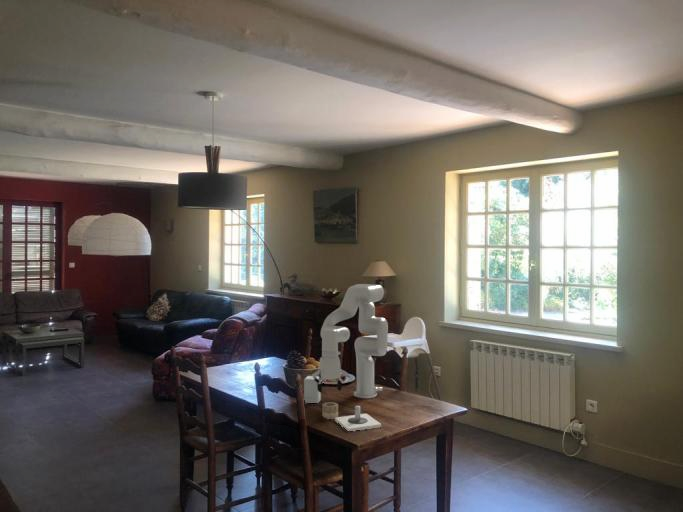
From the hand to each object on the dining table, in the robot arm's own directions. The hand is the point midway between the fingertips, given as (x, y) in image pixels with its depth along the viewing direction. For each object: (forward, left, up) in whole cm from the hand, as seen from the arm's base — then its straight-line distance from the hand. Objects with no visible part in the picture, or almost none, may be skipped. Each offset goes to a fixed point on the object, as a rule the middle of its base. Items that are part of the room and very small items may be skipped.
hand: (329, 390), depth 257 cm
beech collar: (0, 0, -13) cm, 13 cm away
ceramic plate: (-25, -61, -13) cm, 68 cm away
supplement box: (0, -26, -13) cm, 29 cm away
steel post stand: (-8, +14, -13) cm, 20 cm away
